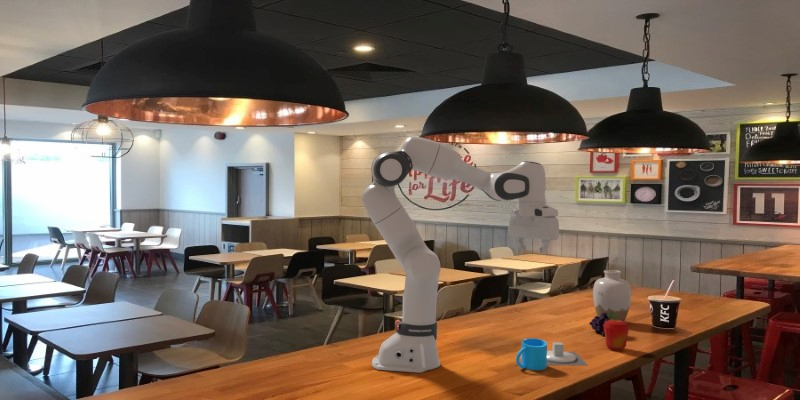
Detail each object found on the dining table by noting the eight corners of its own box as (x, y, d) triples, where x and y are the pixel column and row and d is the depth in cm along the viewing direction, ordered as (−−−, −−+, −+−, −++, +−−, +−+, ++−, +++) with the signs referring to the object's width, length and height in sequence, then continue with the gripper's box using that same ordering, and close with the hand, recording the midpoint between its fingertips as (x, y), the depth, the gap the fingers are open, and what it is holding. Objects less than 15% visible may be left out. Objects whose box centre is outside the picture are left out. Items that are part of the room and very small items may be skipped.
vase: (632, 321, 272) (634, 270, 271) (628, 328, 258) (629, 274, 257) (595, 317, 279) (597, 267, 279) (589, 324, 265) (590, 271, 265)
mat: (539, 366, 203) (539, 364, 203) (529, 352, 219) (529, 351, 219) (588, 367, 203) (588, 365, 203) (574, 353, 219) (574, 351, 219)
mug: (533, 360, 206) (534, 336, 205) (551, 368, 200) (552, 343, 199) (507, 367, 200) (507, 343, 199) (525, 376, 193) (526, 351, 192)
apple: (633, 350, 224) (633, 318, 223) (616, 353, 220) (617, 320, 219) (614, 345, 231) (615, 313, 231) (598, 347, 227) (599, 315, 227)
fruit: (598, 337, 255) (631, 335, 244) (583, 337, 248) (617, 334, 237) (595, 312, 257) (628, 309, 247) (581, 311, 251) (614, 308, 240)
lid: (544, 362, 205) (544, 348, 205) (536, 352, 217) (536, 338, 217) (580, 363, 205) (580, 348, 205) (570, 353, 217) (570, 339, 217)
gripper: (503, 209, 211) (504, 249, 211) (548, 211, 194) (548, 255, 194) (517, 209, 214) (517, 248, 215) (562, 210, 197) (562, 253, 198)
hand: (532, 251), depth 204 cm, fingers open, 8 cm apart
